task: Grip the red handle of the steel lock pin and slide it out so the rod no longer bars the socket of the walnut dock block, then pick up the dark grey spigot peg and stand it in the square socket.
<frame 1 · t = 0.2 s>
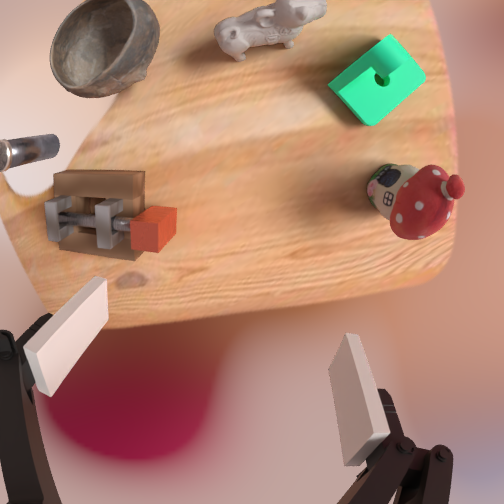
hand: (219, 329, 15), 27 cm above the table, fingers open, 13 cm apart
lock pin: (106, 222, 36), point 6 cm above the table, slide at 0.0 cm
dock block: (104, 208, 42), on the table
decorative ornament: (389, 185, 38), on the table
bowl: (125, 51, 33), on the table
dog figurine: (267, 36, 32), on the table
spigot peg: (51, 146, 39), on the table
camera mount: (375, 81, 33), on the table
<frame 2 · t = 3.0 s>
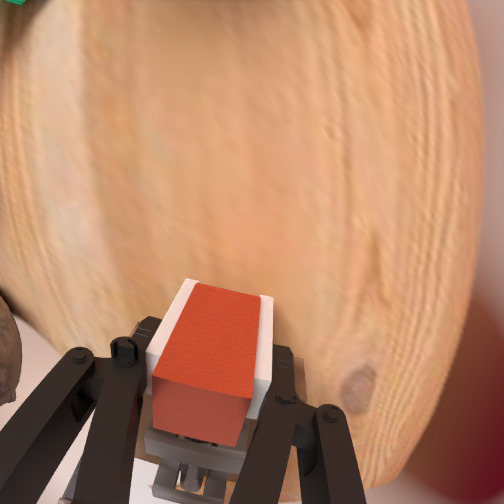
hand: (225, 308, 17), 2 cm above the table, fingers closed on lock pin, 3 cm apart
lock pin: (198, 436, 16), point 6 cm above the table, slide at 0.0 cm, touching gripper
dock block: (207, 403, 23), on the table
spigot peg: (113, 432, 27), on the table
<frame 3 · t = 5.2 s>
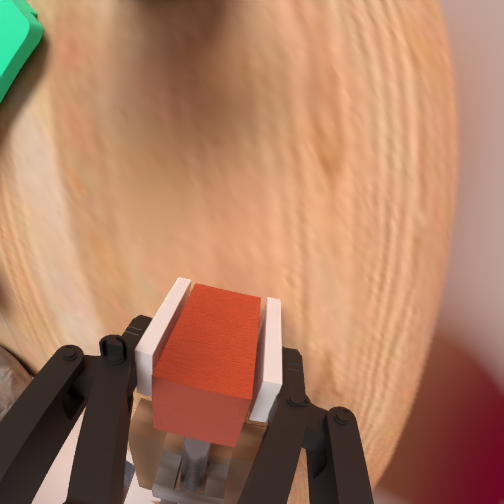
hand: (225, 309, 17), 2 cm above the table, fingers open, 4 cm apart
lock pin: (198, 436, 16), point 6 cm above the table, slide at 8.9 cm
dock block: (199, 450, 26), on the table
bowl: (13, 366, 25), on the table
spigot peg: (121, 463, 30), on the table
camera mount: (4, 41, 13), on the table
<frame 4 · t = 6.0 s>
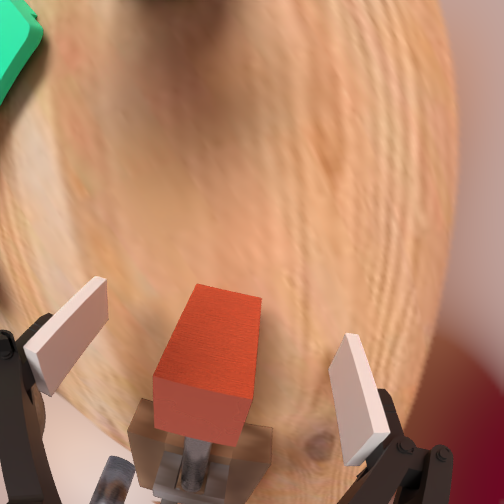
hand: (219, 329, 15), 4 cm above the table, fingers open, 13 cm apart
lock pin: (199, 436, 16), point 6 cm above the table, slide at 8.9 cm
dock block: (199, 450, 26), on the table
bowl: (14, 366, 25), on the table
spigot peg: (122, 463, 30), on the table
camera mount: (4, 43, 13), on the table
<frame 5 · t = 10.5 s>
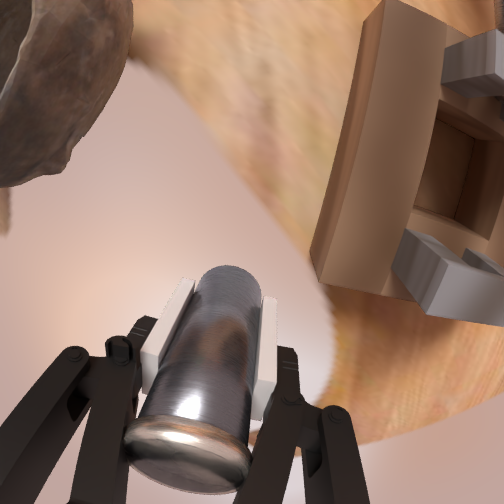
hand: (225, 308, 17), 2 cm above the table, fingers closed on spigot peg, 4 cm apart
dock block: (433, 164, 15), on the table
bowl: (63, 66, 14), on the table
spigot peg: (229, 294, 19), on the table, touching gripper
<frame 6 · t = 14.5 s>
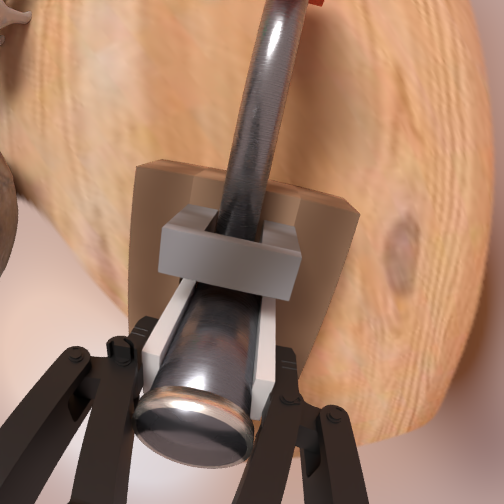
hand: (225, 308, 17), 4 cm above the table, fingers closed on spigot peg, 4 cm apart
lock pin: (271, 65, 11), point 6 cm above the table, slide at 8.9 cm
dock block: (231, 274, 21), on the table
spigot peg: (231, 285, 20), point 1 cm above the table, touching gripper
when the fingers open (4 cm above the table, at t = 15.9 s): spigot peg stays where it is, resting in dock block.
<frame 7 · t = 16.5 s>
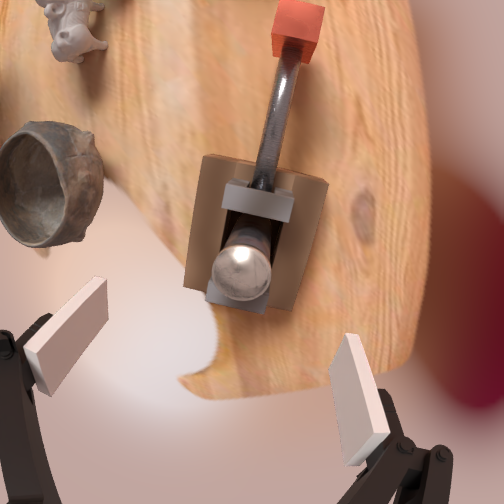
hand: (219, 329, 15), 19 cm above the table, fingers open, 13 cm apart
lock pin: (279, 105, 23), point 6 cm above the table, slide at 8.9 cm
dock block: (253, 227, 33), on the table
bowl: (73, 174, 33), on the table
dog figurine: (89, 27, 26), on the table
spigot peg: (253, 228, 34), resting in dock block
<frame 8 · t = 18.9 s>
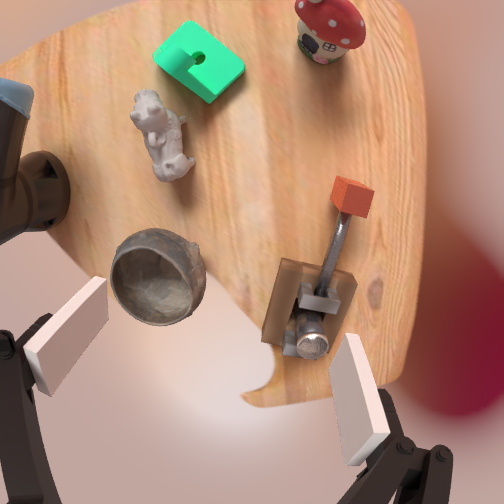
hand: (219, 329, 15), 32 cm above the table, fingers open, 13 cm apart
lock pin: (335, 245, 40), point 6 cm above the table, slide at 8.9 cm
dock block: (305, 302, 51), on the table
decorative ornament: (318, 42, 35), on the table
bowl: (168, 260, 50), on the table
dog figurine: (173, 137, 42), on the table
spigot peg: (305, 302, 51), resting in dock block
camera mount: (202, 62, 38), on the table
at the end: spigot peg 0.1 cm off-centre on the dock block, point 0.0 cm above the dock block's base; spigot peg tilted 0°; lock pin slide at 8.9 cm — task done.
